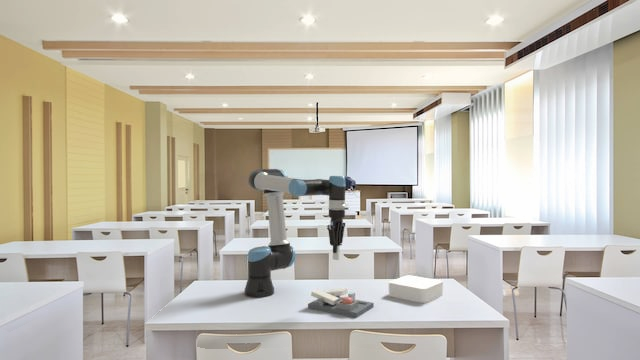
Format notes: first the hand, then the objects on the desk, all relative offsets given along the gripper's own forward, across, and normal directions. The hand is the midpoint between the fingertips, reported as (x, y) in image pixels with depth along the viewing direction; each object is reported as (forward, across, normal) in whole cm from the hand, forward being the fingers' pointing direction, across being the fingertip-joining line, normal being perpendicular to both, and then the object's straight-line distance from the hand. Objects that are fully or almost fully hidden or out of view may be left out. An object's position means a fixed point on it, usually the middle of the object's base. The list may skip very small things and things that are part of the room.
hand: (335, 259), depth 198 cm
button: (+19, -5, -9) cm, 22 cm away
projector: (+22, +37, -26) cm, 50 cm away
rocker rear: (+17, +2, +2) cm, 17 cm away
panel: (+22, -2, -4) cm, 22 cm away
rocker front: (+17, -6, +2) cm, 18 cm away
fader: (+19, +4, -7) cm, 20 cm away
